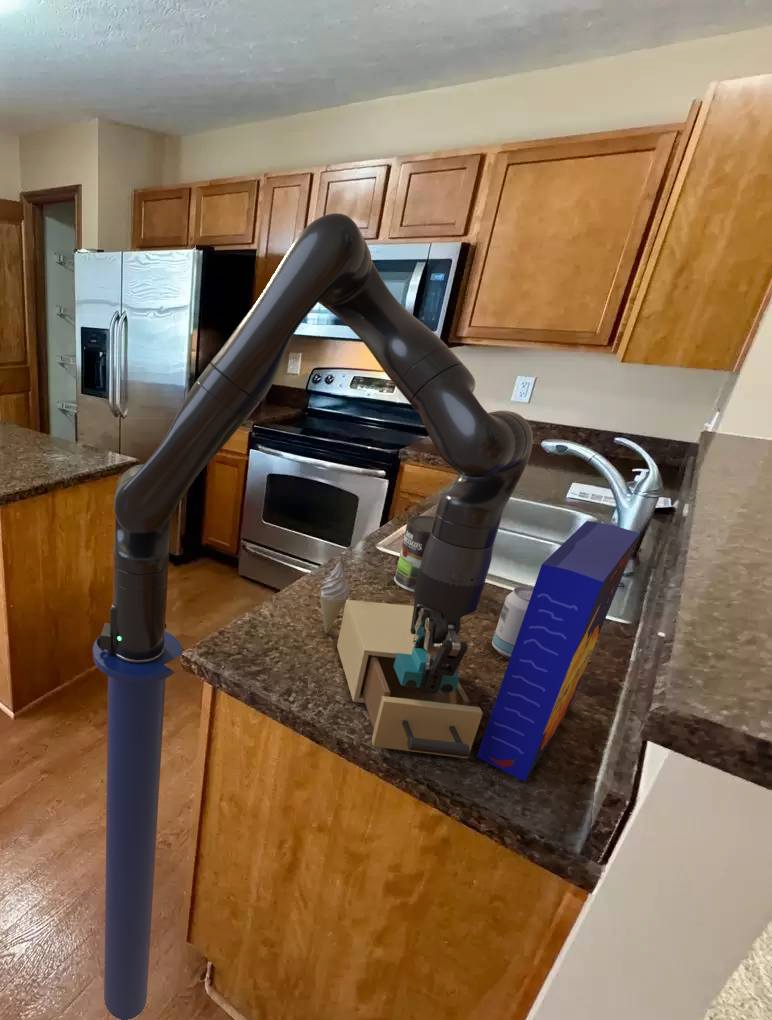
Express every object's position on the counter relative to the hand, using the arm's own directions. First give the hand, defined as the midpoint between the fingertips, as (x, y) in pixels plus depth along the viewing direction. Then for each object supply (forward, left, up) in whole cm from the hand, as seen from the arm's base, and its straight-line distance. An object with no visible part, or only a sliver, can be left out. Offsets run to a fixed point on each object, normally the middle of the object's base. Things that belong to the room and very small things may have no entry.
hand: (422, 679), depth 83 cm
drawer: (0, 0, -9) cm, 9 cm away
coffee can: (+15, +50, -10) cm, 53 cm away
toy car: (0, 0, 0) cm, 0 cm away
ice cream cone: (-8, +26, -10) cm, 29 cm away
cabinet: (0, +14, -10) cm, 17 cm away
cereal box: (+17, +3, -10) cm, 20 cm away
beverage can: (+24, +25, -10) cm, 36 cm away
